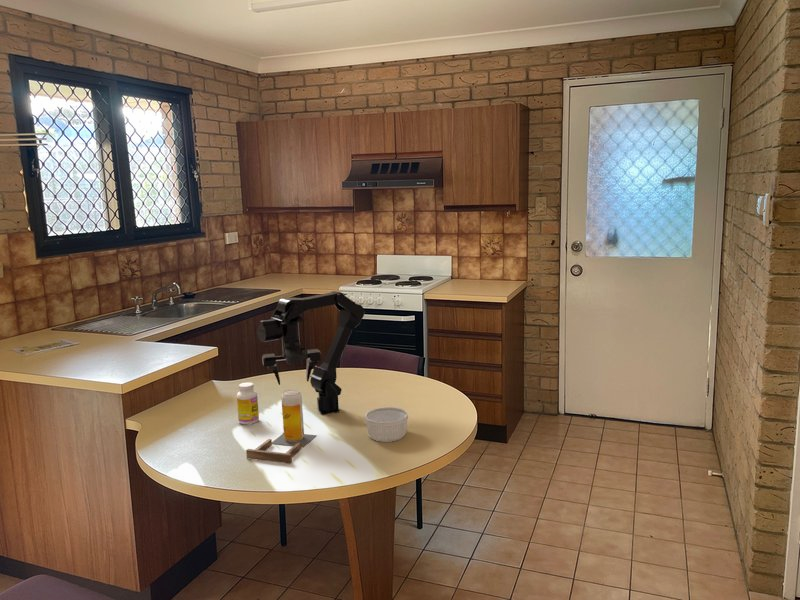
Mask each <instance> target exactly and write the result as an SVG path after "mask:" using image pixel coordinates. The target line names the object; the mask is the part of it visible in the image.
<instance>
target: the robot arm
mask: <svg viewBox="0 0 800 600" xmlns="http://www.w3.org/2000/svg"><path fill="white" fill-rule="evenodd" d="M333 305H334V307H335V308H336V309H337V310H338V311H339V314H338V326H337V329H336V332H335V333H334V336H333V338H332V340H331V341H332V342H330V343H331V344H330V346H329V348H328V350H327V353H326V355H325V357H324V360H323V357H322V355H323V354H322V352H321V351H320V350H319V349H318V348H315V349H314V348H312V349H308V347H301V342H300V340H301V339H300V327H299V326H300V323H303V322H305V319H304V318H303V317H302V316H301V315H303V314H304V313H306V312H307V311H311V310H315V309H319V308H324V307H329V306H333ZM365 314H366V313H365V309H364V307H363V305H362V304H359V303H356V302H355V301H353V300H352V299H350V298H349V297H347V296H346V295H345V294H344V292H341V291H337V290H333V291H330V292H327V293H321V294H316V295H312V296H307V297H282V298H280V299H279V300H278V302H277V304H276V307H275V310H274V311H273V313H272V315H271V317H270V319H267V320H266V319H265V320H263V319H262V320H260V321H259V325H258V327H257V330H256V334H257V338H258V340H259V341H260V342H261V343H267V342H272V341H278V340H280V339H281V347H282V348H281V349H282V350H281V351H282V355H275V353H274V352H273V353H263V354H262V356H261V360H262V365H263V368H267V369H269V370H270V369H271V371H272V372H273V374H274V376H275V379H276V381H277V384H278V385H279V386H280V385H281V380H280V379H281V378H280V376H279V375H280V374H279V369H278V365H277V363H281V362H286V365H288V366H292V365H301V364H302V363H303V360H306V367H305V368H306V371H305V374H306V376H305V377H306V382H309V381H310V382H309V383H310V385H311V388H313V389H314V391H315V392H316V393H317V394H318V397H317V398H316V402H317V411H318V412H319V414H321V415H327V414H336V413H340V412H341V410H340V408H339V396H341V394H342V388H341V387H340V386H339V385H338V384H336V383H337V377H338V376H337V368H338V365H339V363H340V360H341V357H342V356H343V353H344V351H345V348H346V345H347V344H348V341H349V339H350V336H351V334H352V331H353V330H355V328H357V326H359V325H360V324H361V321H362V319H363V318H364V316H365ZM322 360H323V362H322V363H321V364H320V365H319V366H317V364H318V363H319V362H321V361H322ZM312 370H313V371H312Z"/></svg>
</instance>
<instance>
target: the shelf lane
mask: <svg viewBox="0 0 800 600" xmlns="http://www.w3.org/2000/svg"><path fill="white" fill-rule="evenodd" d="M272 442H273V440H272V439H271V438H267V440H265V441H264V442H263V443H261V444H260V445H258V446H257V447H256V448H255V449H251V448H247V449H246V450H245V454H246V459H247V458H250V459H249V460H255V459H257V461H265V462H266V461H267V462H272V463H273V462H274V463H282V464H289V465H290V464H292V463H293V457H294V456H296V454H298V453H299V452H300V451H301V450H302V449H303V447H302V443H301V442H298V443H297V444H296V445H294V446H291V448H289V450H288V451H286V452H285V453H284V452H278V451H271V450H270V451H268V449H270V448H271V447H272V446H273V444H272Z"/></svg>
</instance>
